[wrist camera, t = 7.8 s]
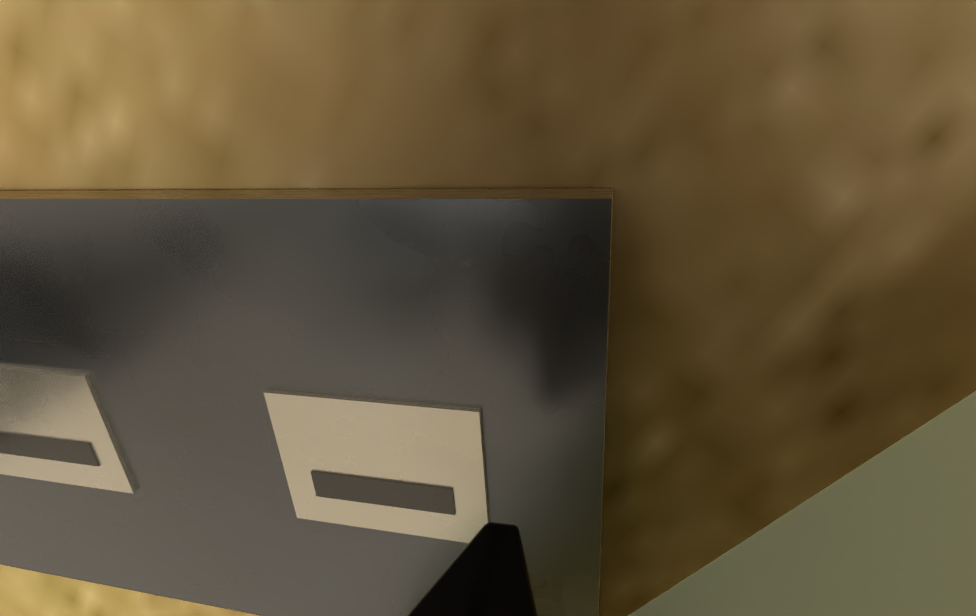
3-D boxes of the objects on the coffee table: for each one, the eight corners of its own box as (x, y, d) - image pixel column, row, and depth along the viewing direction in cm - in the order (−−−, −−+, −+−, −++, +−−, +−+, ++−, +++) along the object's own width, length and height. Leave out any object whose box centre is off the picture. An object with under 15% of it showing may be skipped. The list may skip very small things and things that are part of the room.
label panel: (82, 664, 18) (6, 751, 16) (-183, 191, 12) (-373, 227, 9) (592, 786, 14) (584, 922, 12) (614, 188, 8) (604, 246, 6)
